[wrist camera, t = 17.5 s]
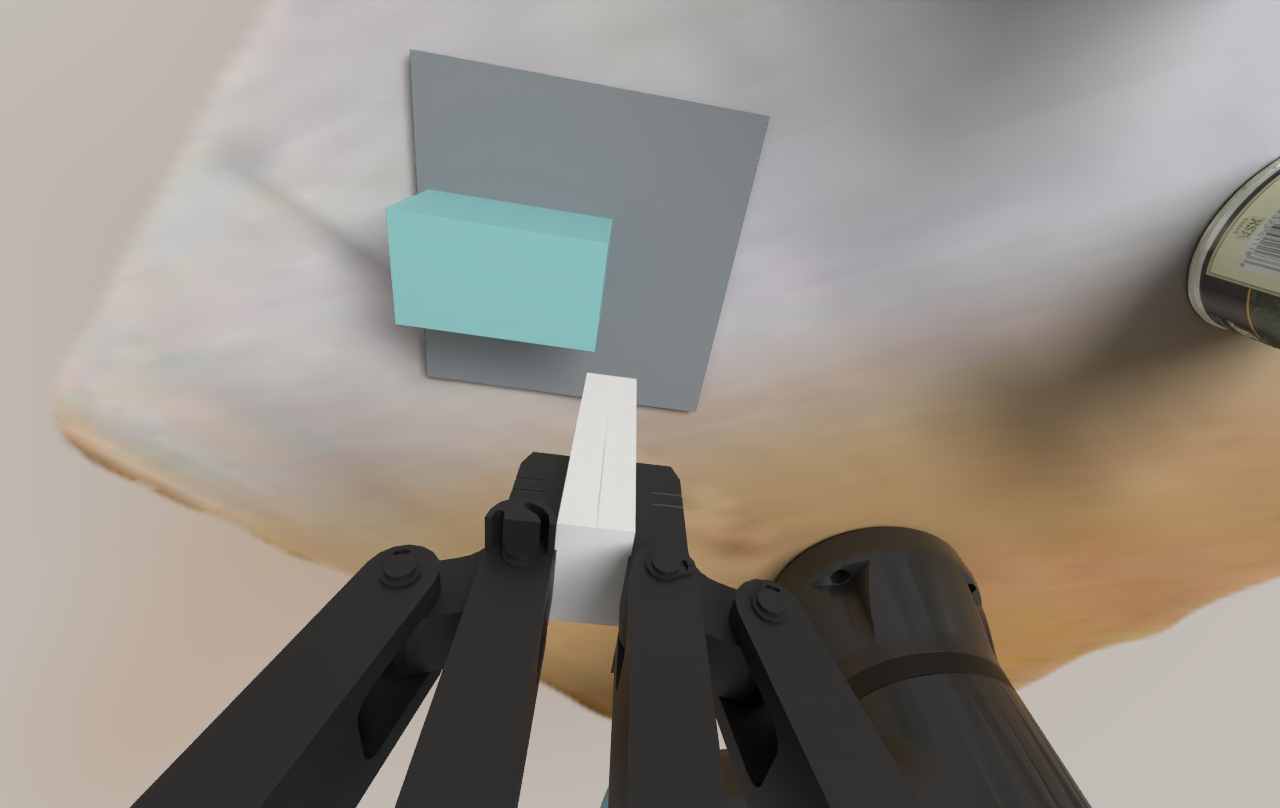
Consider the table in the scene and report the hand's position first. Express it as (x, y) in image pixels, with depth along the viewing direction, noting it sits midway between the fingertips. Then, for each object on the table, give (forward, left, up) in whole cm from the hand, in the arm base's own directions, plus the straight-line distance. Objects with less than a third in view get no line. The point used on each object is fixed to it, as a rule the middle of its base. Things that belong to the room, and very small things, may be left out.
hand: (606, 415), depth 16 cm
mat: (+1, +2, -14) cm, 14 cm away
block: (+1, +1, -11) cm, 11 cm away
